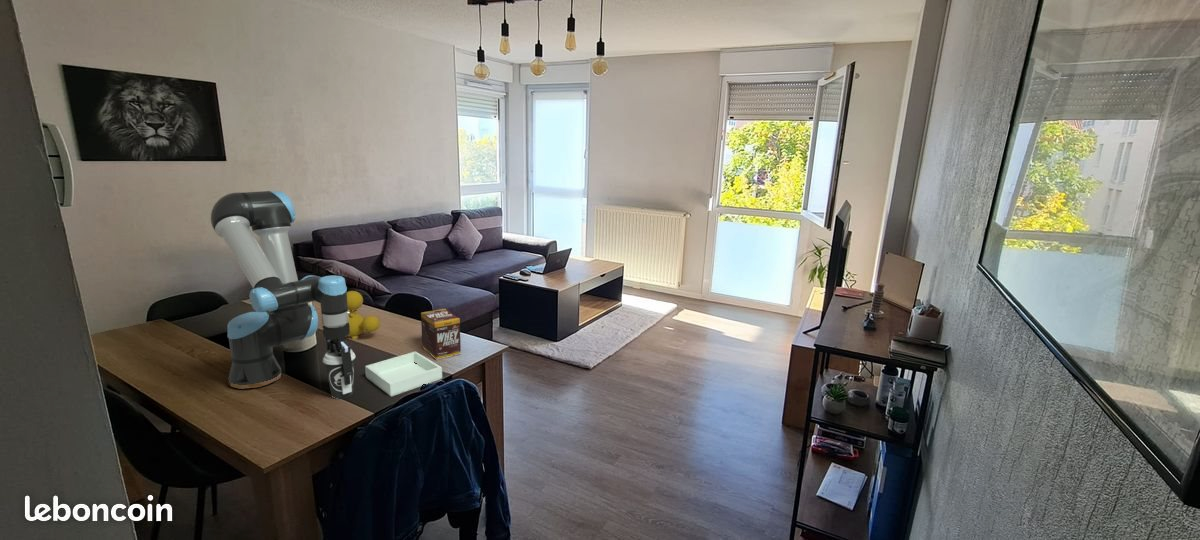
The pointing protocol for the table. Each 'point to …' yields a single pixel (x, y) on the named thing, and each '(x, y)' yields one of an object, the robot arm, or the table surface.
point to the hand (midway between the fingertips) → (342, 388)
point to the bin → (403, 373)
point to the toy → (359, 316)
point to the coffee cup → (337, 374)
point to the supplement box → (440, 333)
